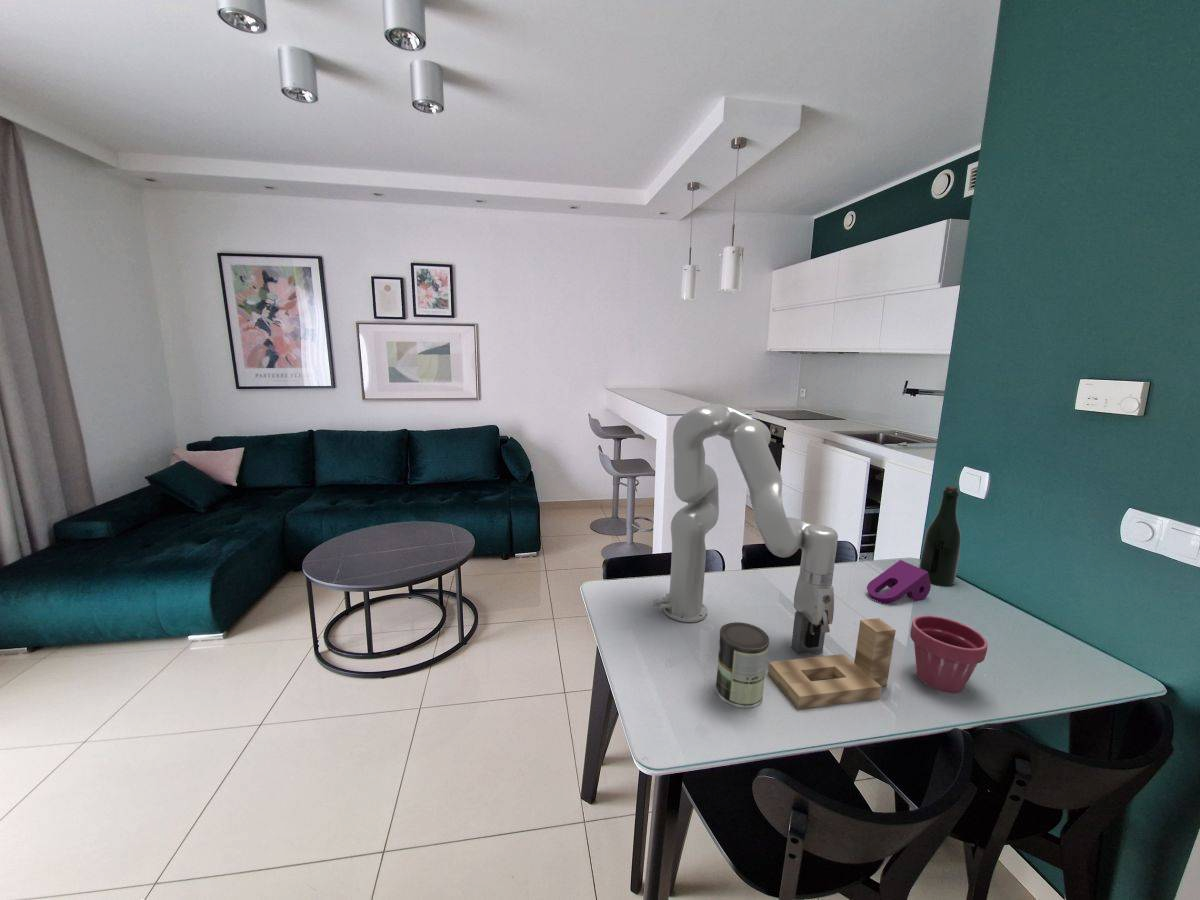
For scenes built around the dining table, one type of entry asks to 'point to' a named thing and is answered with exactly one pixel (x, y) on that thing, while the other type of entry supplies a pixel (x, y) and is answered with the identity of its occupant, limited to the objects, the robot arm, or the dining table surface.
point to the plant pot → (946, 652)
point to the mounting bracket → (900, 583)
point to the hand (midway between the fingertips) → (807, 642)
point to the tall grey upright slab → (804, 635)
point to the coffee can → (741, 664)
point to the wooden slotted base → (839, 671)
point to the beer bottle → (943, 542)
